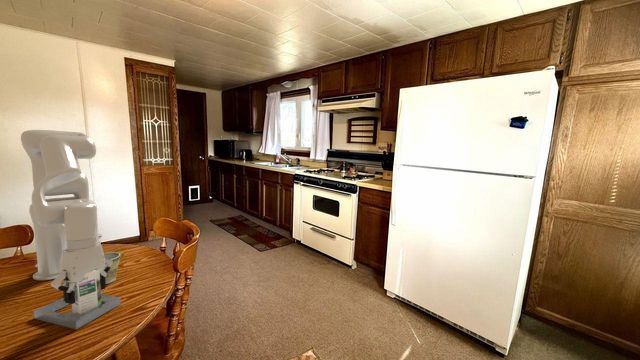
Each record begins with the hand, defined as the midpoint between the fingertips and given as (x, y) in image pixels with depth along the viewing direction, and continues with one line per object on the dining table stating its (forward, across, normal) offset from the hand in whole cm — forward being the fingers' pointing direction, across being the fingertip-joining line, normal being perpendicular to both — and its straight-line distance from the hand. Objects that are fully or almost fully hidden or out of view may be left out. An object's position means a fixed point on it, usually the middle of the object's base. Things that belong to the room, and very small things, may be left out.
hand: (86, 295), depth 83 cm
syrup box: (+6, 0, 0) cm, 6 cm away
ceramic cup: (+6, -18, -16) cm, 25 cm away
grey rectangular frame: (+6, 0, -4) cm, 7 cm away
